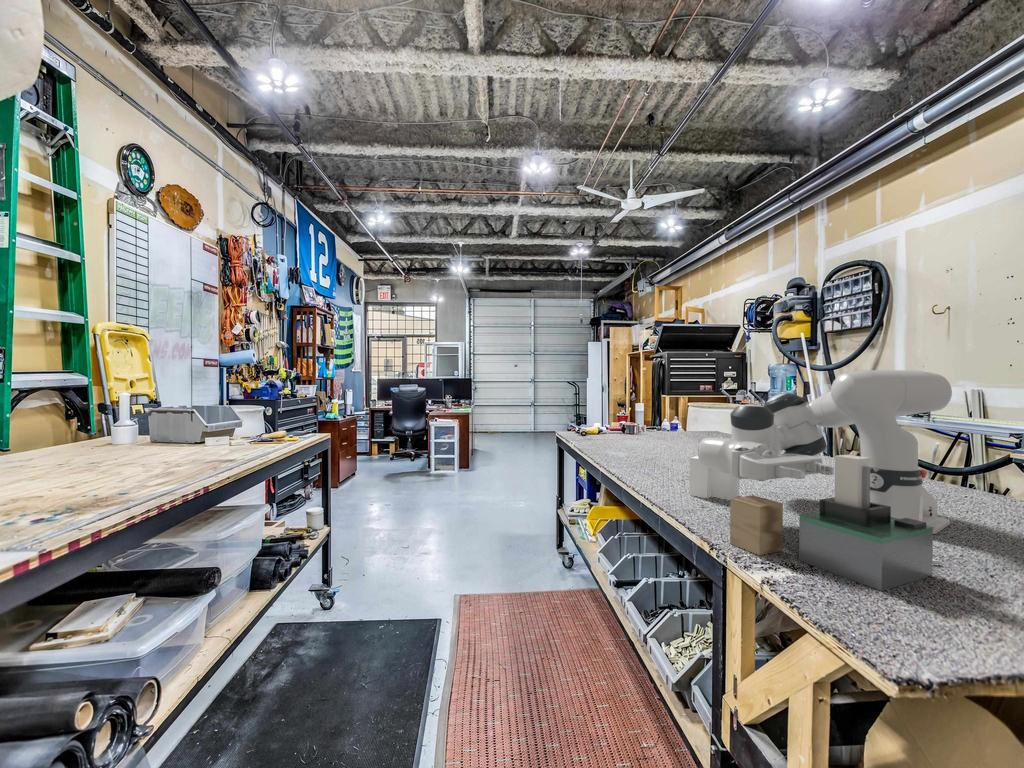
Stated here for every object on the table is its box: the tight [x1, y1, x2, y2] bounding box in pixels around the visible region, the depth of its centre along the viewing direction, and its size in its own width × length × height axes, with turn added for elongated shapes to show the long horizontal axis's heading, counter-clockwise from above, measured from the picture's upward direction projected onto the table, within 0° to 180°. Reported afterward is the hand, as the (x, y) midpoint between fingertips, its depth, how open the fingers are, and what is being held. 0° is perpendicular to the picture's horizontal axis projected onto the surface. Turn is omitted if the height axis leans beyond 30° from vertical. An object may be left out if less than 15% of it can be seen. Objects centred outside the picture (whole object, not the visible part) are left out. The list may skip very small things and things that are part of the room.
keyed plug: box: [834, 454, 870, 509], centre depth 84 cm, size 4×5×12 cm
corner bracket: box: [689, 455, 740, 501], centre depth 135 cm, size 11×11×12 cm
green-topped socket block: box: [798, 496, 934, 592], centre depth 83 cm, size 16×14×12 cm
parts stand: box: [729, 494, 784, 557], centre depth 93 cm, size 7×7×10 cm
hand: (817, 473), depth 90 cm, fingers open, 8 cm apart
